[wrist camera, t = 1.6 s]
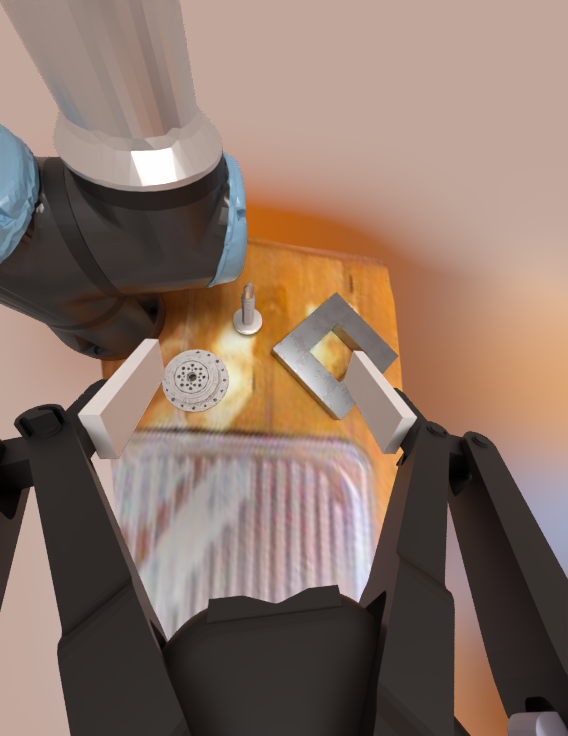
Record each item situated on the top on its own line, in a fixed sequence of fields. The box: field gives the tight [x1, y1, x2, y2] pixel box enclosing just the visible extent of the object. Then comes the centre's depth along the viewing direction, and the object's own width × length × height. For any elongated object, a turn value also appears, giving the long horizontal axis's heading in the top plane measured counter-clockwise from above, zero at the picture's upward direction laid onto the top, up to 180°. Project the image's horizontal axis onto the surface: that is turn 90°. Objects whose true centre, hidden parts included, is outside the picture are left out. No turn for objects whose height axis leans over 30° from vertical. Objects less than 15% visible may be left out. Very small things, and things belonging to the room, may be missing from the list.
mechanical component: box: [162, 349, 228, 412], centre depth 35 cm, size 10×4×10 cm
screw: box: [233, 282, 262, 335], centre depth 34 cm, size 13×5×5 cm
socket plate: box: [271, 292, 398, 420], centre depth 41 cm, size 16×16×3 cm
